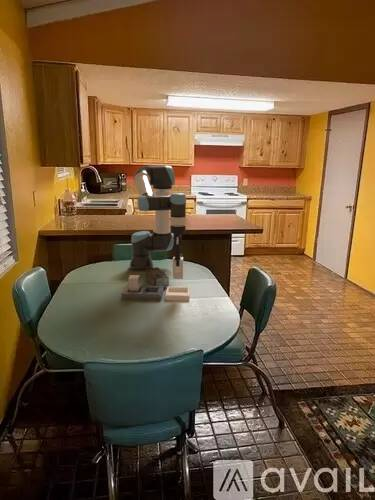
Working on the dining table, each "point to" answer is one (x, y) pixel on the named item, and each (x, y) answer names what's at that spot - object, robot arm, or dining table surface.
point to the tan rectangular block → (178, 274)
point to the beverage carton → (157, 277)
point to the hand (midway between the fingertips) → (178, 270)
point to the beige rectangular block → (134, 283)
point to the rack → (144, 293)
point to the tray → (177, 293)
